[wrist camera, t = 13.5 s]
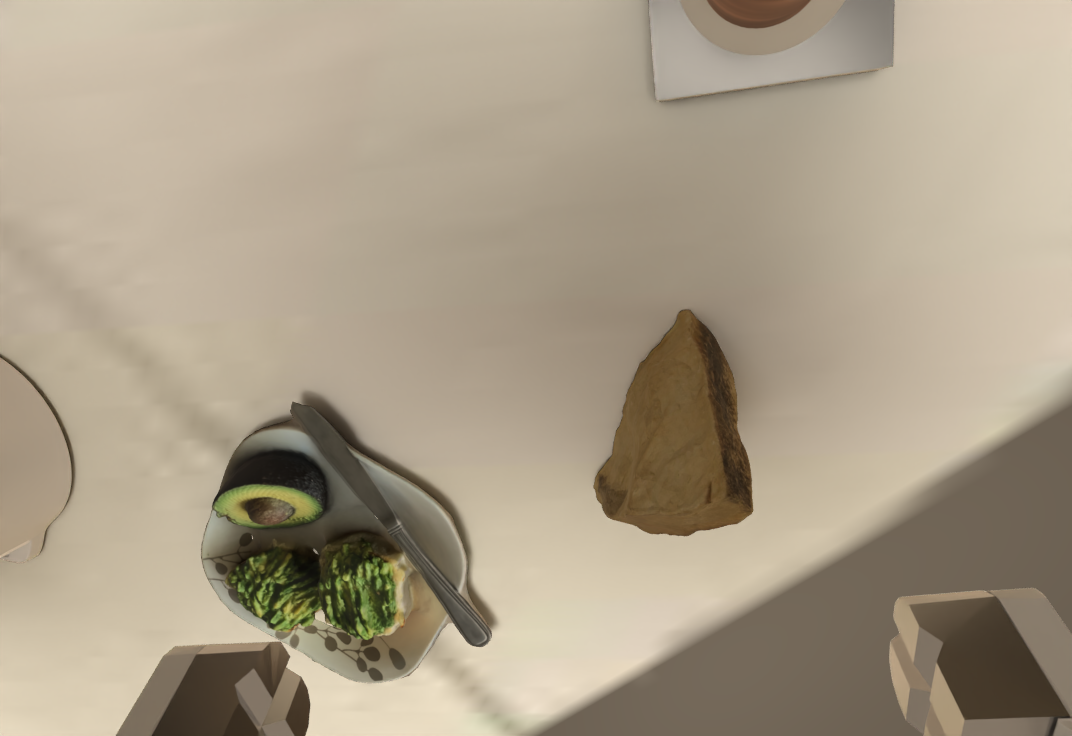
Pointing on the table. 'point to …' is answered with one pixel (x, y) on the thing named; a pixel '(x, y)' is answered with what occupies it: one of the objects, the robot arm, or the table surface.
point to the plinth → (765, 46)
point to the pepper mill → (757, 11)
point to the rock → (679, 441)
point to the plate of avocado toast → (336, 553)
